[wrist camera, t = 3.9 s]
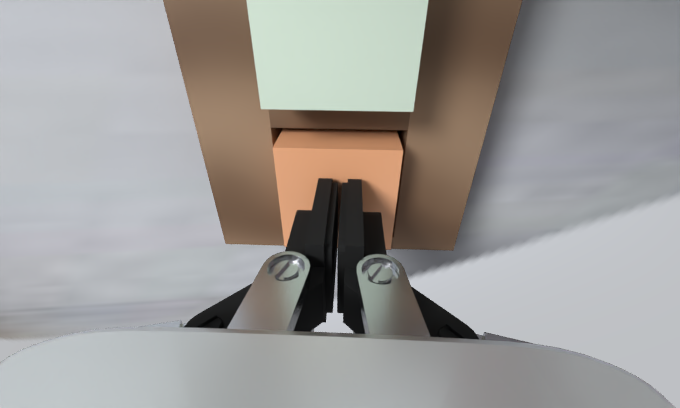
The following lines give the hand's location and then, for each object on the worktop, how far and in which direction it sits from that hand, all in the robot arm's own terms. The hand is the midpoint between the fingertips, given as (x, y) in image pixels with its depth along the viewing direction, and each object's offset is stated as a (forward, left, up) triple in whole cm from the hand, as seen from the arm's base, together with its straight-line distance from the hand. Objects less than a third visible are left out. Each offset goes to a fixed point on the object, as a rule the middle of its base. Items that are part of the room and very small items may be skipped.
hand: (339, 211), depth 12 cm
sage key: (-7, 0, -2) cm, 7 cm away
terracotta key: (0, 0, -3) cm, 3 cm away
